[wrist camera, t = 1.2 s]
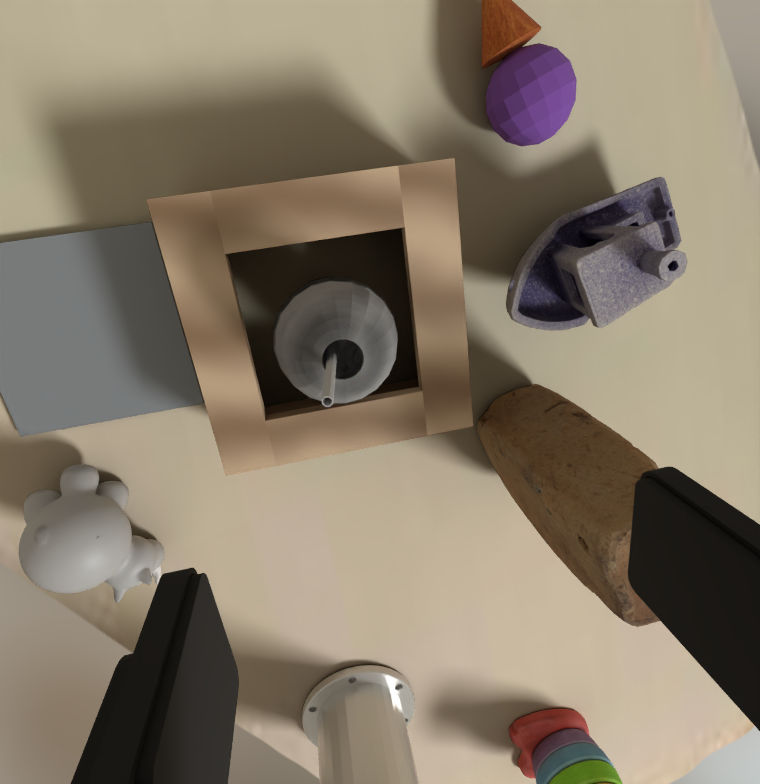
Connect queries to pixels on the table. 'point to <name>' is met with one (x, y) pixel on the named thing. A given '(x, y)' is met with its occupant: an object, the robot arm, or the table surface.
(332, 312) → the beverage cup
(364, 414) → the box
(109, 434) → the table surface
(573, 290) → the toy boat
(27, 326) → the mat
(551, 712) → the stacking bear
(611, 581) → the block
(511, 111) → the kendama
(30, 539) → the chubby cartoon animal
